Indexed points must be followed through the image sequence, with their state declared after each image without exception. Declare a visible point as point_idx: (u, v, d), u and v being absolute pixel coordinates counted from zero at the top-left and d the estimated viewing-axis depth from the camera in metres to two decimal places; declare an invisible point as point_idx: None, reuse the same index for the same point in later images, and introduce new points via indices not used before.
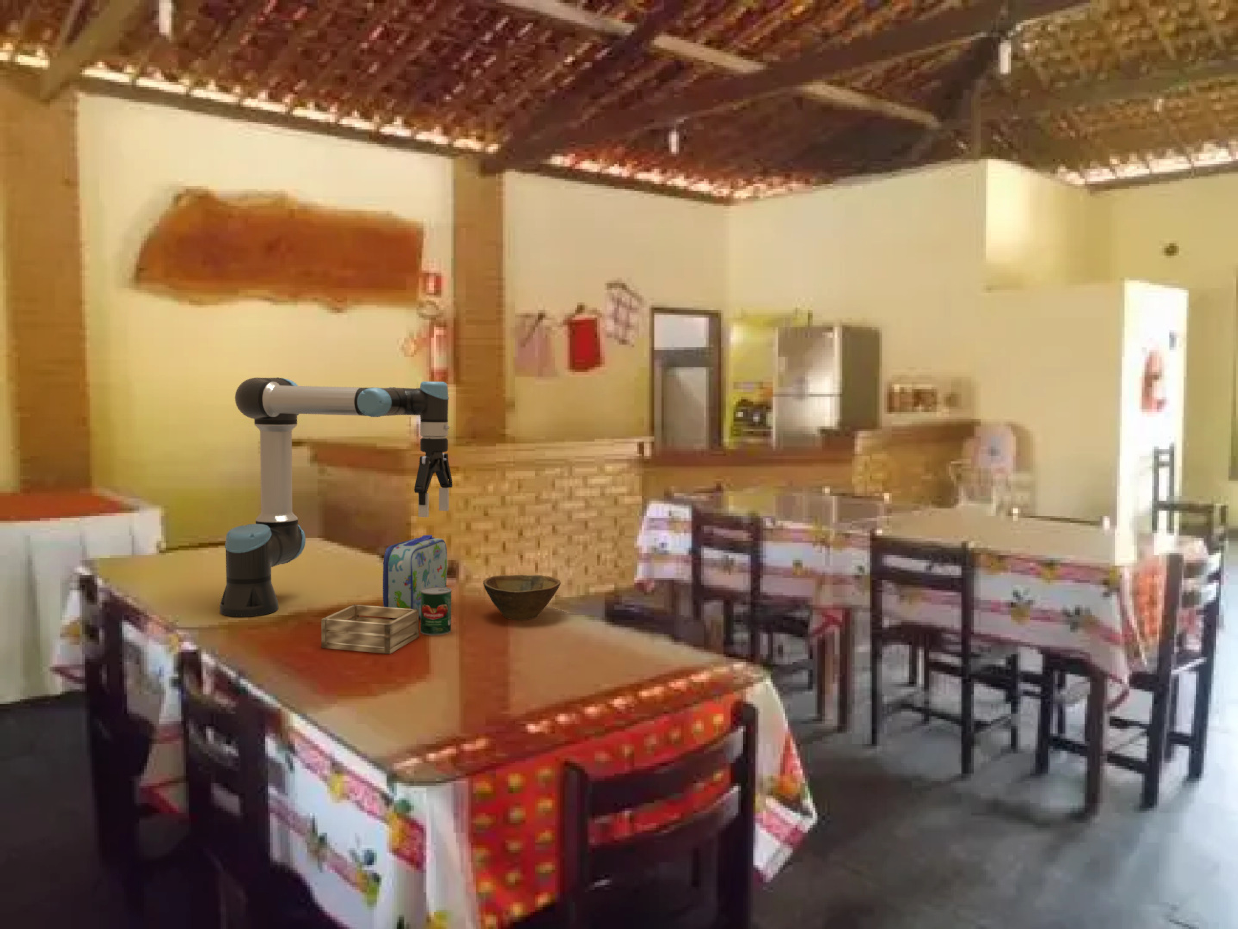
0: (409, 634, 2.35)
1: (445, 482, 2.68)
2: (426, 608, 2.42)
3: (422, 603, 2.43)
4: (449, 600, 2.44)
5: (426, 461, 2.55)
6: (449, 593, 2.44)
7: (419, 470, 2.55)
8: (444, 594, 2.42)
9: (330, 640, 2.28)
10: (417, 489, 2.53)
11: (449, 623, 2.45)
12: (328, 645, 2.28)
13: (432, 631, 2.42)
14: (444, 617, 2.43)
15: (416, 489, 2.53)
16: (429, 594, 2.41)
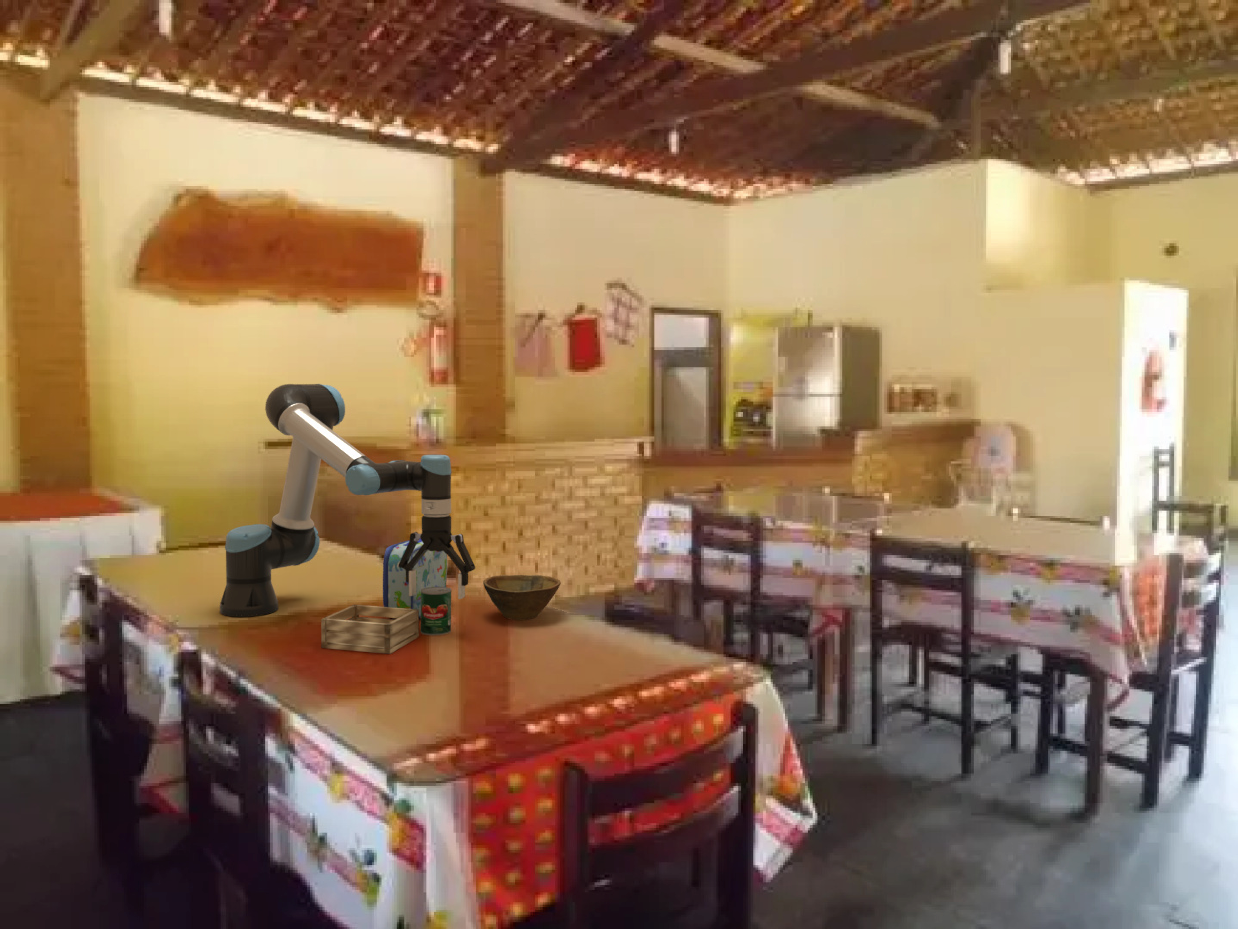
0: (409, 634, 2.35)
1: None
2: (426, 608, 2.42)
3: (422, 603, 2.43)
4: (449, 600, 2.44)
5: None
6: (449, 593, 2.44)
7: None
8: (444, 594, 2.42)
9: (330, 640, 2.28)
10: None
11: (449, 623, 2.45)
12: (328, 645, 2.28)
13: (432, 631, 2.42)
14: (444, 617, 2.43)
15: None
16: (429, 594, 2.41)
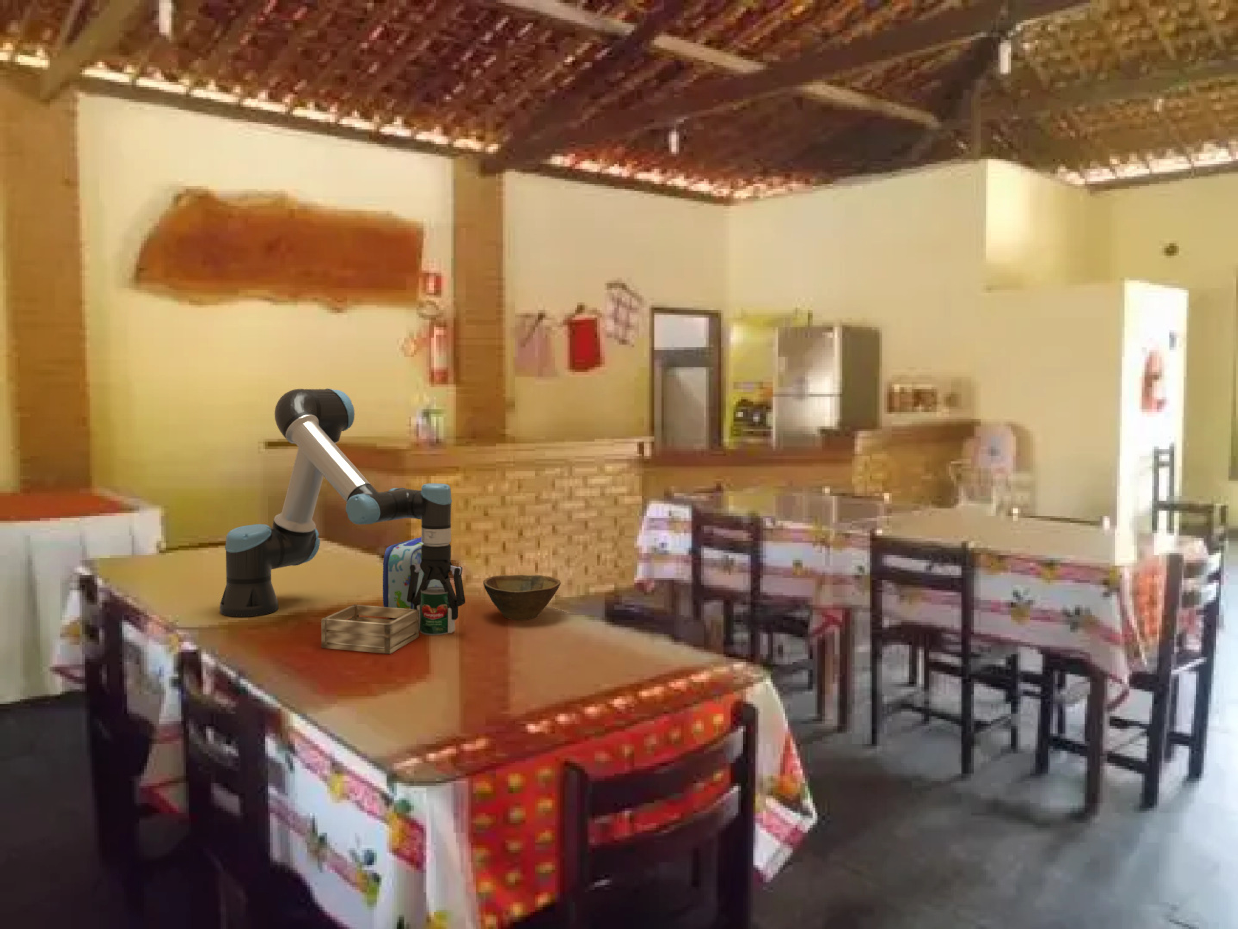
0: (409, 634, 2.35)
1: None
2: (426, 608, 2.42)
3: (422, 603, 2.43)
4: None
5: None
6: None
7: None
8: (444, 594, 2.42)
9: (330, 640, 2.28)
10: None
11: None
12: (328, 645, 2.28)
13: (432, 631, 2.42)
14: (444, 617, 2.43)
15: None
16: (429, 594, 2.41)
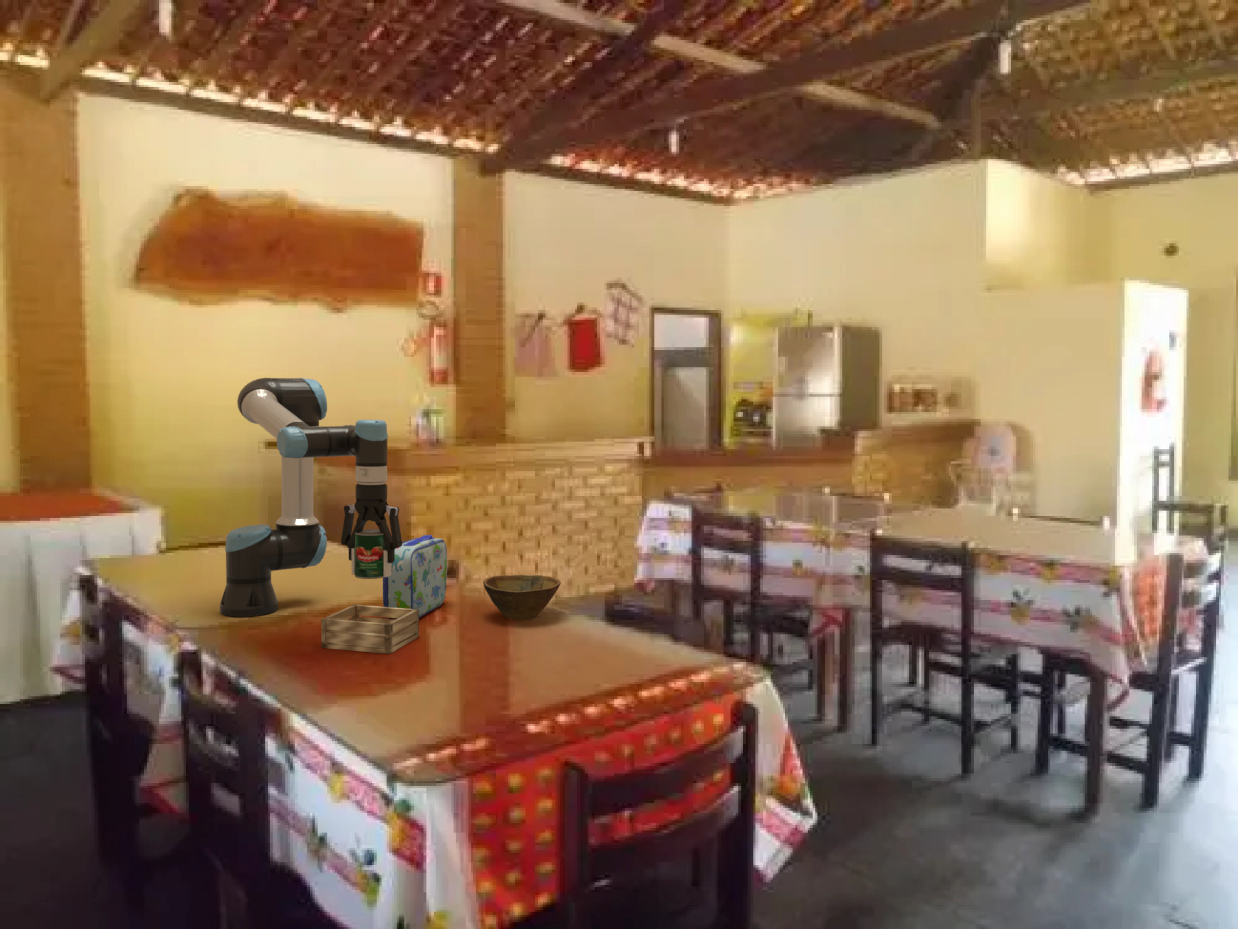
0: (409, 634, 2.35)
1: None
2: (360, 551, 2.29)
3: (356, 545, 2.30)
4: None
5: None
6: None
7: None
8: (379, 535, 2.30)
9: (330, 640, 2.28)
10: None
11: None
12: (328, 645, 2.28)
13: (366, 574, 2.29)
14: (379, 560, 2.30)
15: None
16: (363, 535, 2.29)
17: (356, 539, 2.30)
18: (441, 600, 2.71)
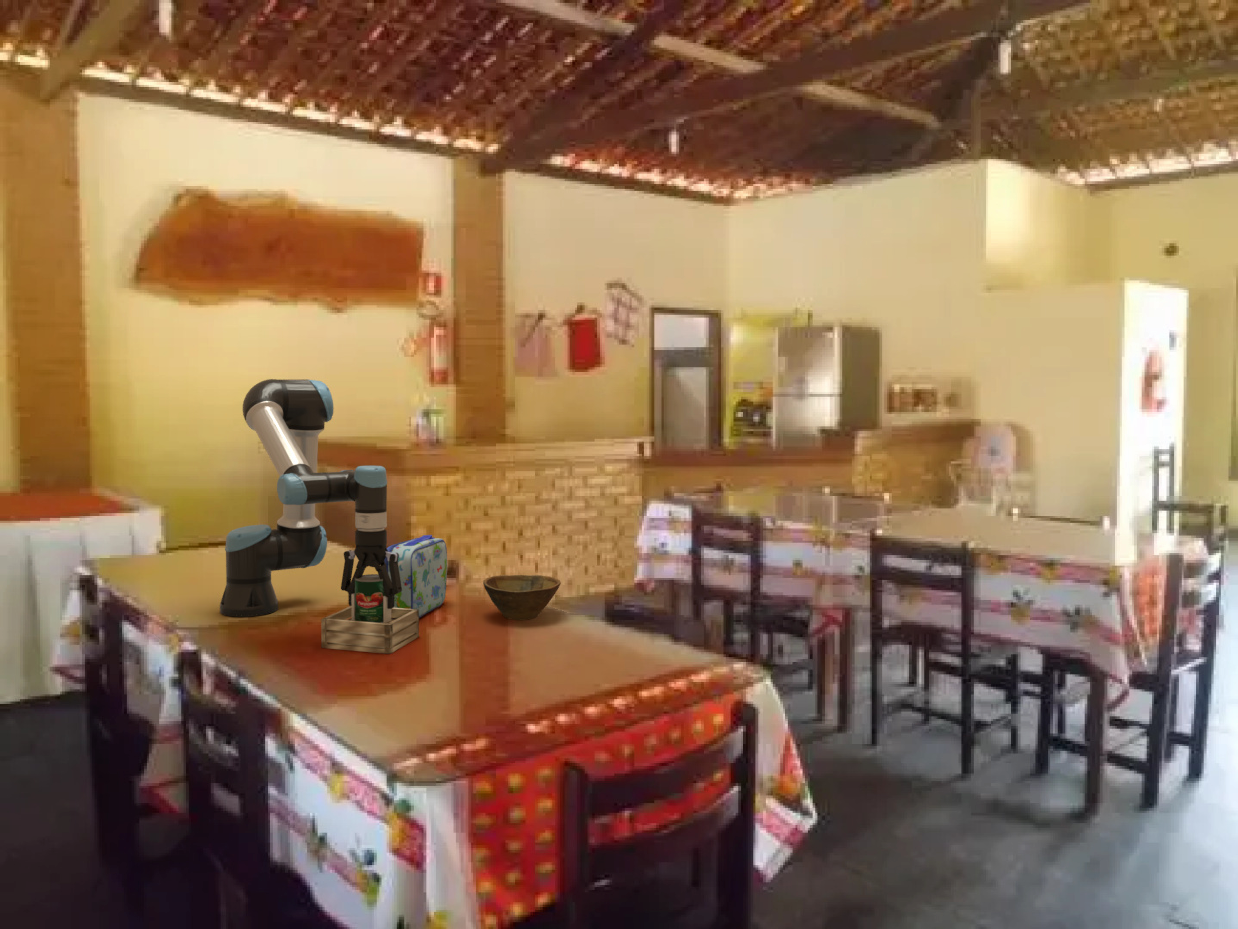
0: (409, 634, 2.35)
1: None
2: (360, 597, 2.30)
3: (356, 591, 2.31)
4: None
5: None
6: None
7: None
8: (379, 581, 2.30)
9: (330, 640, 2.28)
10: None
11: None
12: (328, 645, 2.28)
13: (366, 620, 2.30)
14: (379, 606, 2.31)
15: None
16: (363, 581, 2.29)
17: (356, 585, 2.31)
18: (441, 600, 2.71)
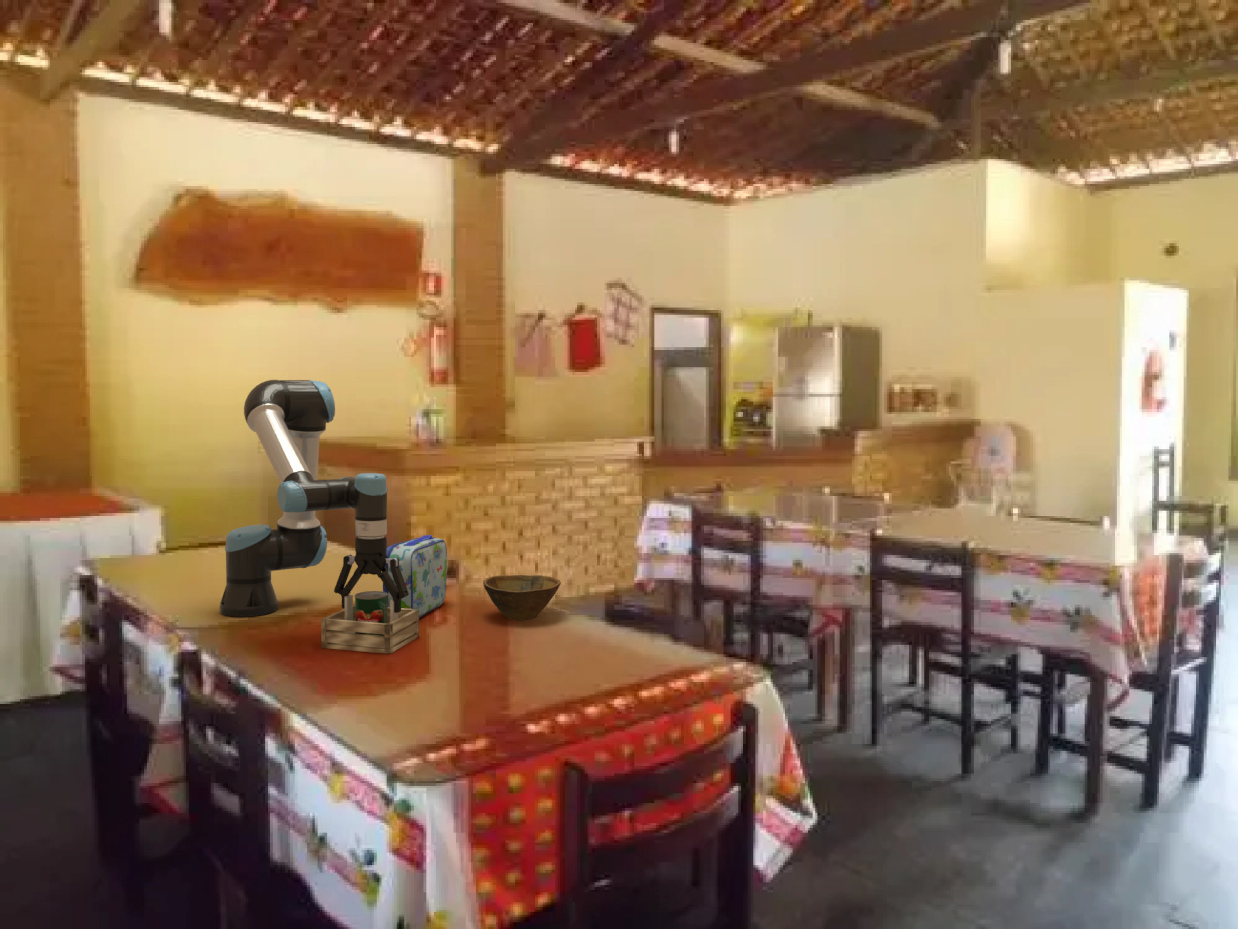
0: (409, 634, 2.35)
1: None
2: (360, 614, 2.31)
3: (356, 609, 2.32)
4: (385, 605, 2.33)
5: None
6: (385, 598, 2.32)
7: None
8: (379, 599, 2.31)
9: (330, 640, 2.28)
10: None
11: None
12: (328, 645, 2.28)
13: None
14: None
15: None
16: (363, 599, 2.30)
17: (356, 602, 2.31)
18: (441, 600, 2.71)
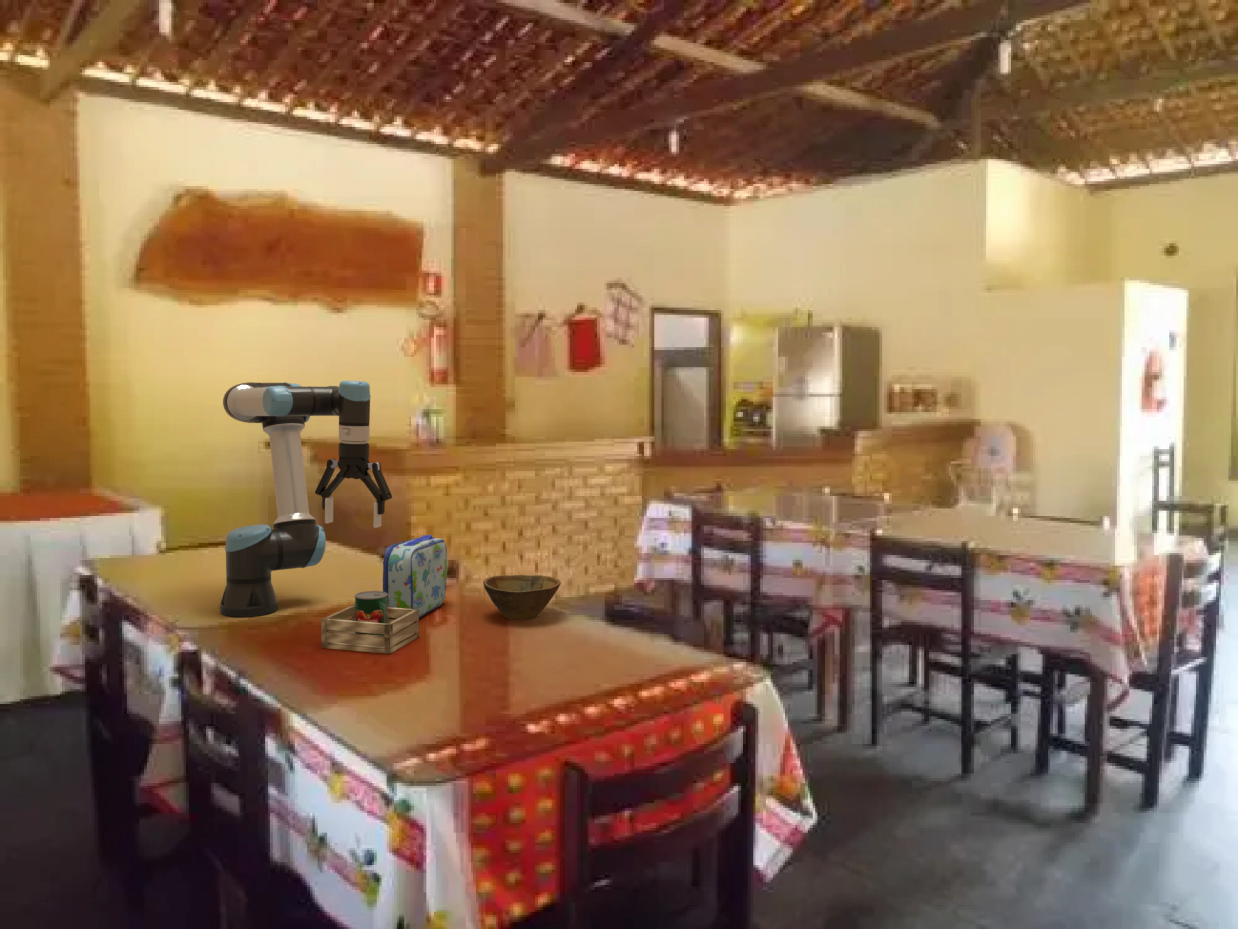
0: (409, 634, 2.35)
1: None
2: (360, 614, 2.30)
3: (356, 609, 2.32)
4: (385, 605, 2.33)
5: None
6: (385, 598, 2.32)
7: None
8: (379, 599, 2.31)
9: (330, 640, 2.28)
10: None
11: None
12: (328, 645, 2.28)
13: None
14: None
15: None
16: (363, 599, 2.30)
17: (356, 602, 2.31)
18: (441, 600, 2.71)
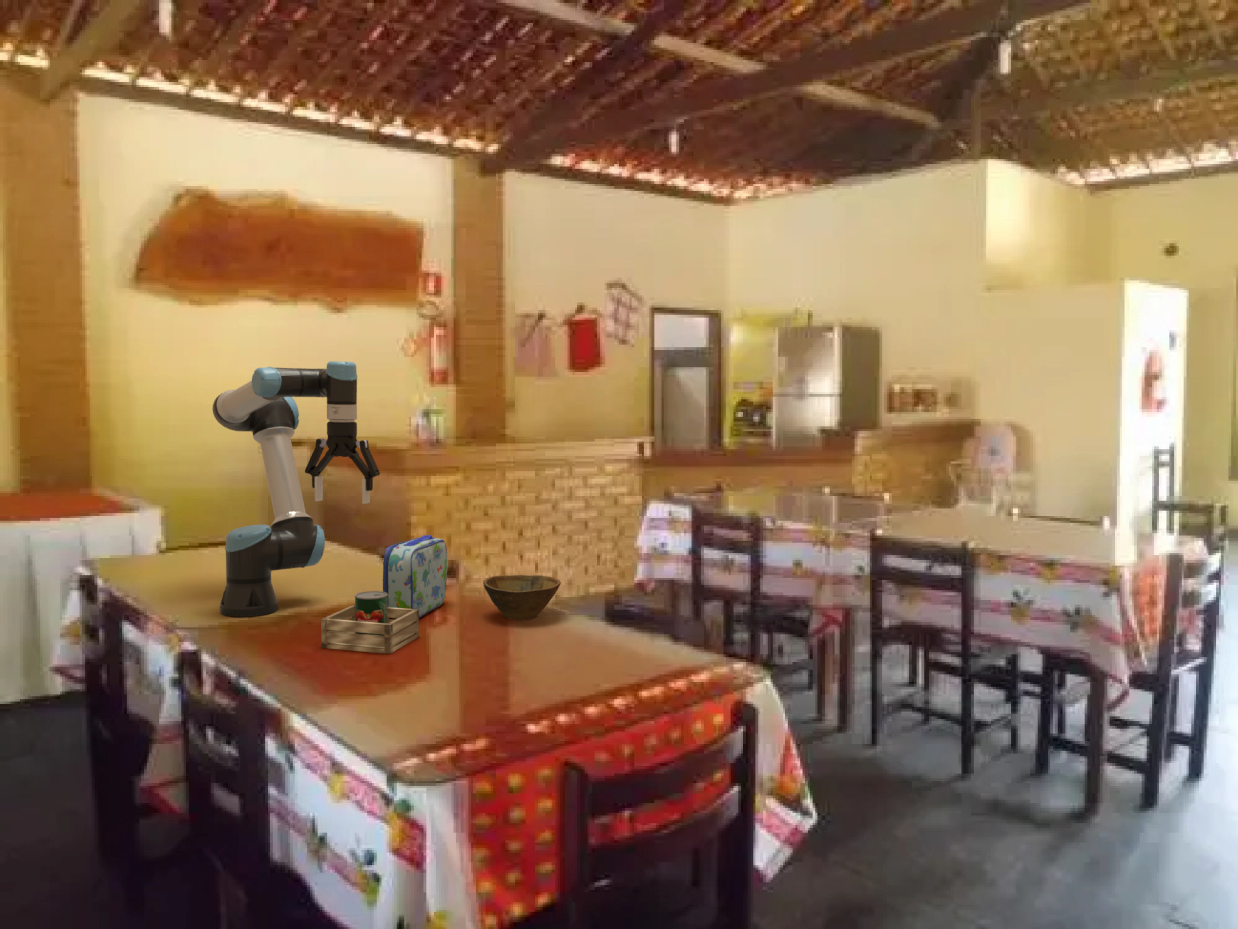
0: (409, 634, 2.35)
1: None
2: (360, 614, 2.31)
3: (356, 609, 2.32)
4: (385, 605, 2.33)
5: None
6: (385, 598, 2.32)
7: None
8: (379, 599, 2.31)
9: (330, 640, 2.28)
10: None
11: None
12: (328, 645, 2.28)
13: None
14: None
15: None
16: (363, 599, 2.30)
17: (356, 602, 2.31)
18: (441, 600, 2.71)
